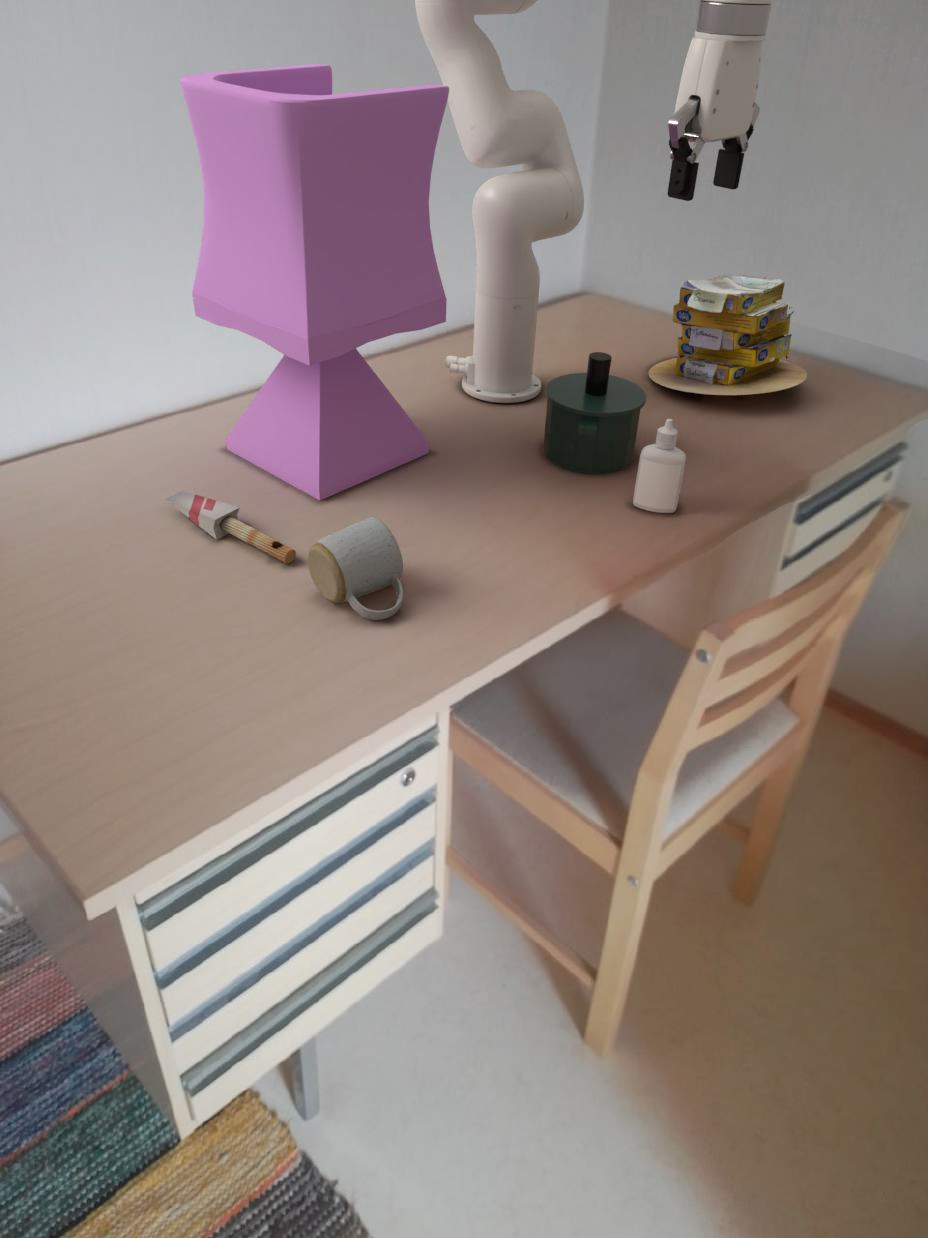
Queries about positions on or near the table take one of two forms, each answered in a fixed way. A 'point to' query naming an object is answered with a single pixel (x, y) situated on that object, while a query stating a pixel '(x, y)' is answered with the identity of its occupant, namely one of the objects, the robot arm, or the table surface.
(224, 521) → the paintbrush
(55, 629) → the table surface
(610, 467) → the pot
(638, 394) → the lid
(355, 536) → the ceramic mug
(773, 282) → the boxes on wooden plate
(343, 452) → the pink goblet vase
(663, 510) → the eye dropper bottle
